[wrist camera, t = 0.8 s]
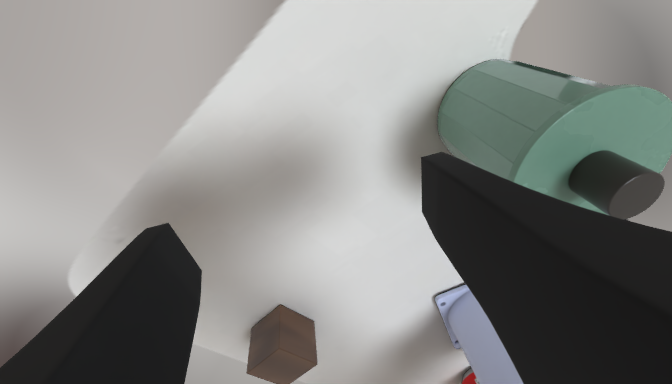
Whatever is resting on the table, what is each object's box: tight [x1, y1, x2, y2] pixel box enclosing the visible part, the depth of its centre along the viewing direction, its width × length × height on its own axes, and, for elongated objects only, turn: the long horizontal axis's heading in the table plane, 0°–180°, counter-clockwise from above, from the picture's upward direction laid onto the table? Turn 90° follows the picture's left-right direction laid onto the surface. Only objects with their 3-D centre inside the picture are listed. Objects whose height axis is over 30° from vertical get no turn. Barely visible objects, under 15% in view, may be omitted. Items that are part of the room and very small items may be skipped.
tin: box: [437, 59, 610, 180], centre depth 16 cm, size 6×6×8 cm
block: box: [247, 305, 317, 384], centre depth 26 cm, size 4×4×4 cm
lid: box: [508, 85, 672, 219], centre depth 12 cm, size 7×7×3 cm
